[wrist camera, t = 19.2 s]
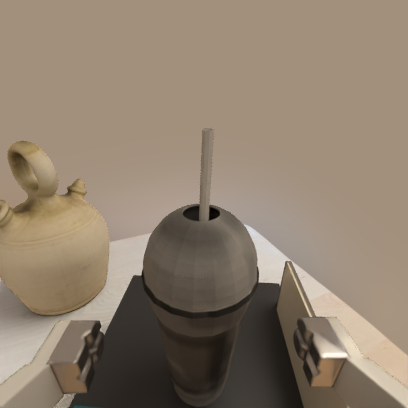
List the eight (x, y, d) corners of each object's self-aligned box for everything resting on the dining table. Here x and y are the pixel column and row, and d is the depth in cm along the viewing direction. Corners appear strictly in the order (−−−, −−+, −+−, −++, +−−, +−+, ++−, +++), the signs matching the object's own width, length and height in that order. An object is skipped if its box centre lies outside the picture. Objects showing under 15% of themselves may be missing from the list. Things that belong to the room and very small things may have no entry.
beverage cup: (226, 326, 23) (245, 119, 14) (257, 415, 16) (322, 135, 8) (154, 341, 21) (128, 119, 13) (157, 445, 15) (107, 139, 7)
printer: (16, 651, 13) (-157, 620, 7) (137, 321, 33) (124, 232, 27) (350, 699, 12) (525, 717, 6) (269, 330, 32) (288, 240, 26)
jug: (25, 349, 29) (-70, 161, 19) (8, 285, 39) (-60, 139, 29) (131, 287, 39) (109, 142, 29) (96, 249, 49) (70, 130, 38)
